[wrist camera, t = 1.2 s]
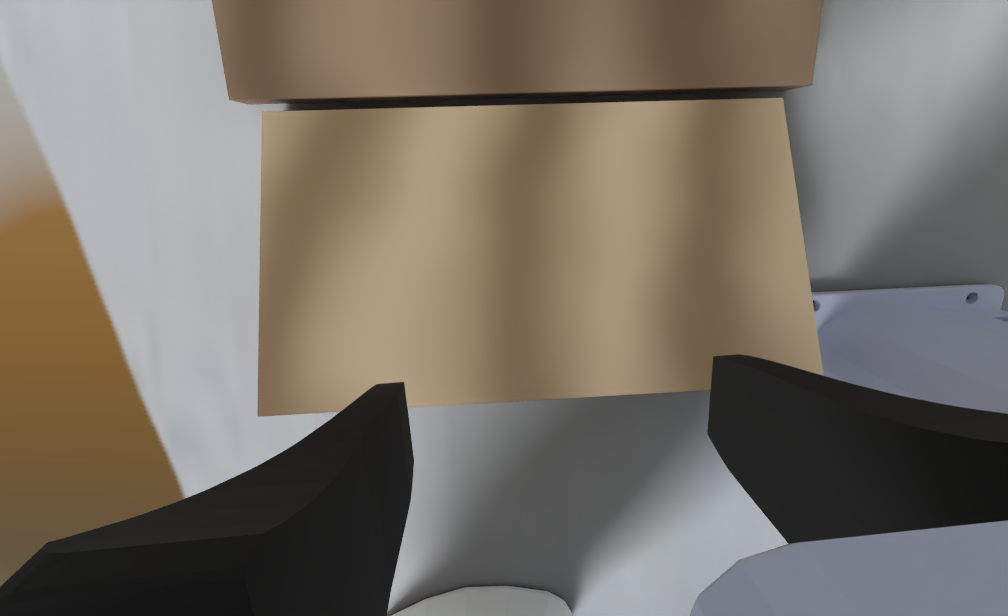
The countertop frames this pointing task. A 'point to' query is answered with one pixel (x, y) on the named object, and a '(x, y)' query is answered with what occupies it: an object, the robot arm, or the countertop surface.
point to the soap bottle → (490, 603)
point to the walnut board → (511, 48)
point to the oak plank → (526, 251)
